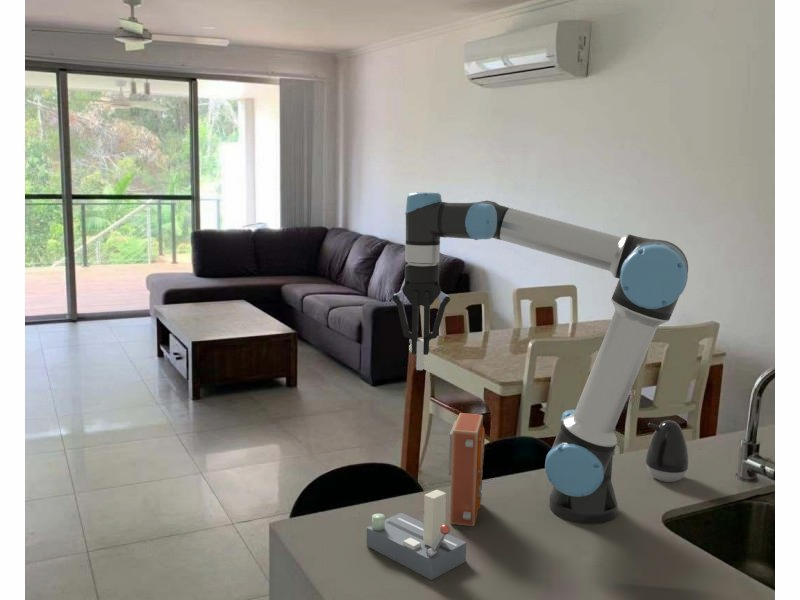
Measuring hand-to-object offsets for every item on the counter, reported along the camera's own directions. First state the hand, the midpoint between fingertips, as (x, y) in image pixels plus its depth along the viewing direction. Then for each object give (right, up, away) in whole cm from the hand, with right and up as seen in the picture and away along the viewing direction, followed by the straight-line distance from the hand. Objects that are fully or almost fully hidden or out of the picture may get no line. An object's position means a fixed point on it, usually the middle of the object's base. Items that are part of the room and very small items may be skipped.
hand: (419, 368), depth 166 cm
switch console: (-1, -36, -17) cm, 39 cm away
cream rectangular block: (+2, -32, -21) cm, 38 cm away
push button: (-9, -31, -15) cm, 36 cm away
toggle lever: (+1, -33, -25) cm, 42 cm away
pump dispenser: (+63, -30, +23) cm, 74 cm away
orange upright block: (+10, -33, +2) cm, 35 cm away
